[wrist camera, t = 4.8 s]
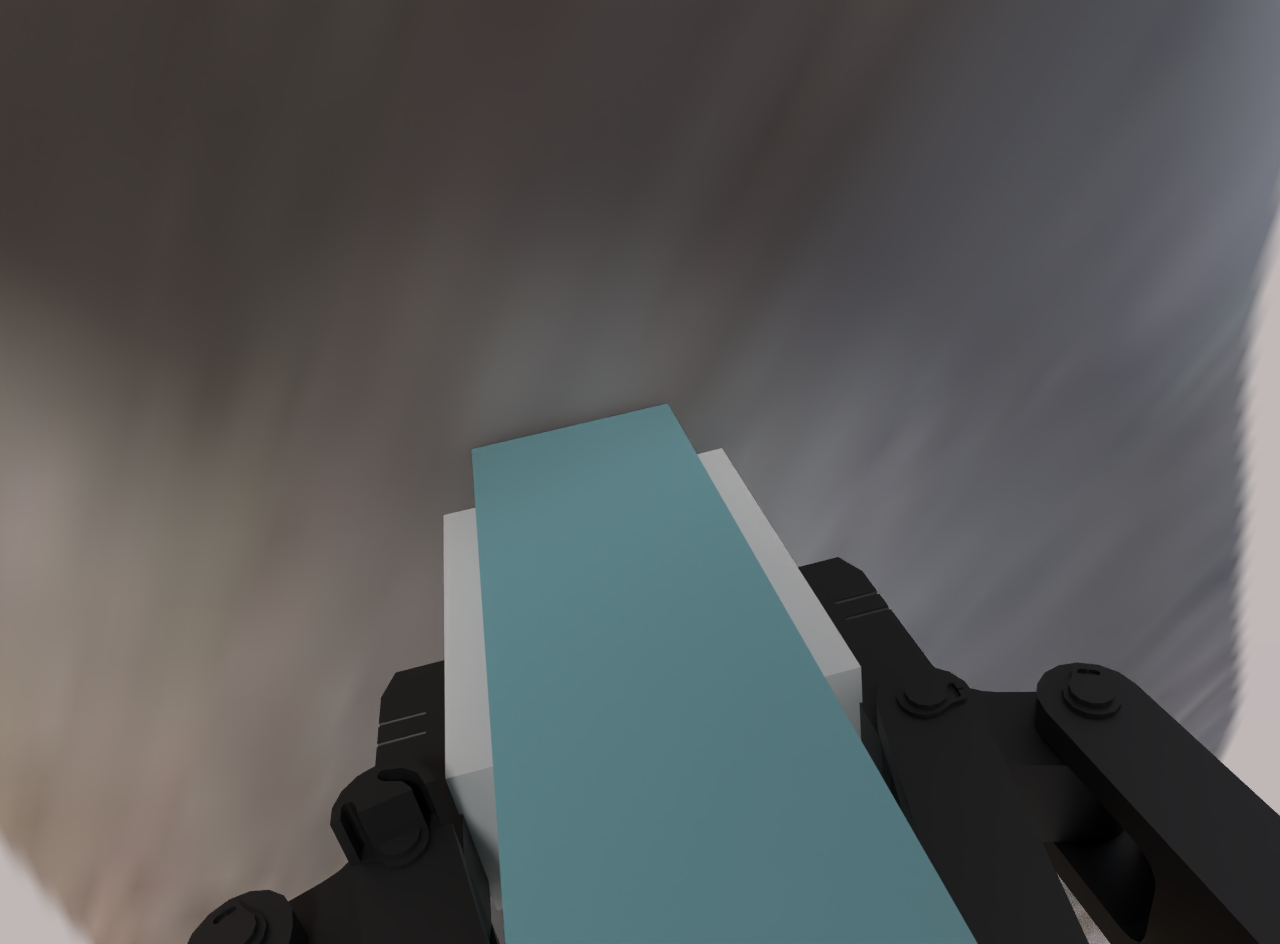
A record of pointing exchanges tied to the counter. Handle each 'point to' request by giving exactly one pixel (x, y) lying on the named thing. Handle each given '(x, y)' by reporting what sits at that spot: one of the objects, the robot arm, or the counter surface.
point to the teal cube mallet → (669, 717)
